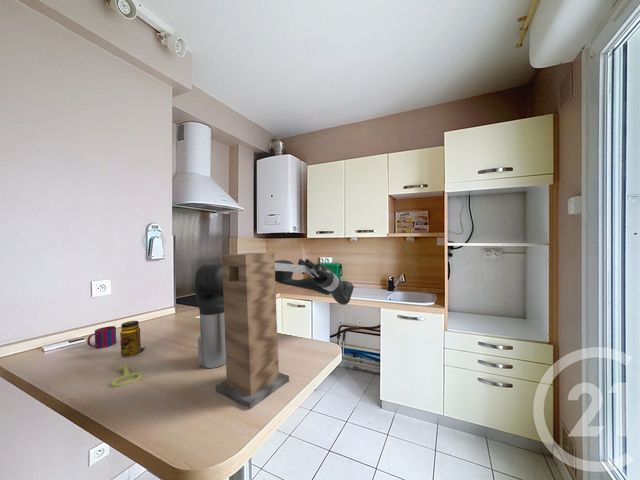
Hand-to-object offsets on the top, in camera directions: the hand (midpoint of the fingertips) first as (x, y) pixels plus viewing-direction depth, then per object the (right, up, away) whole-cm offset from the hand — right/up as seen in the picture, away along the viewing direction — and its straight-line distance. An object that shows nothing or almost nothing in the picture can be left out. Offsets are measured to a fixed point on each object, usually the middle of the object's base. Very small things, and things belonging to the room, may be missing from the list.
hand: (302, 261), depth 90 cm
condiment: (-65, -36, +5) cm, 75 cm away
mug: (-84, -36, +13) cm, 92 cm away
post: (-12, -33, -20) cm, 41 cm away
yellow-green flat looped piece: (-54, -36, -12) cm, 66 cm away
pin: (-3, -3, -4) cm, 6 cm away
